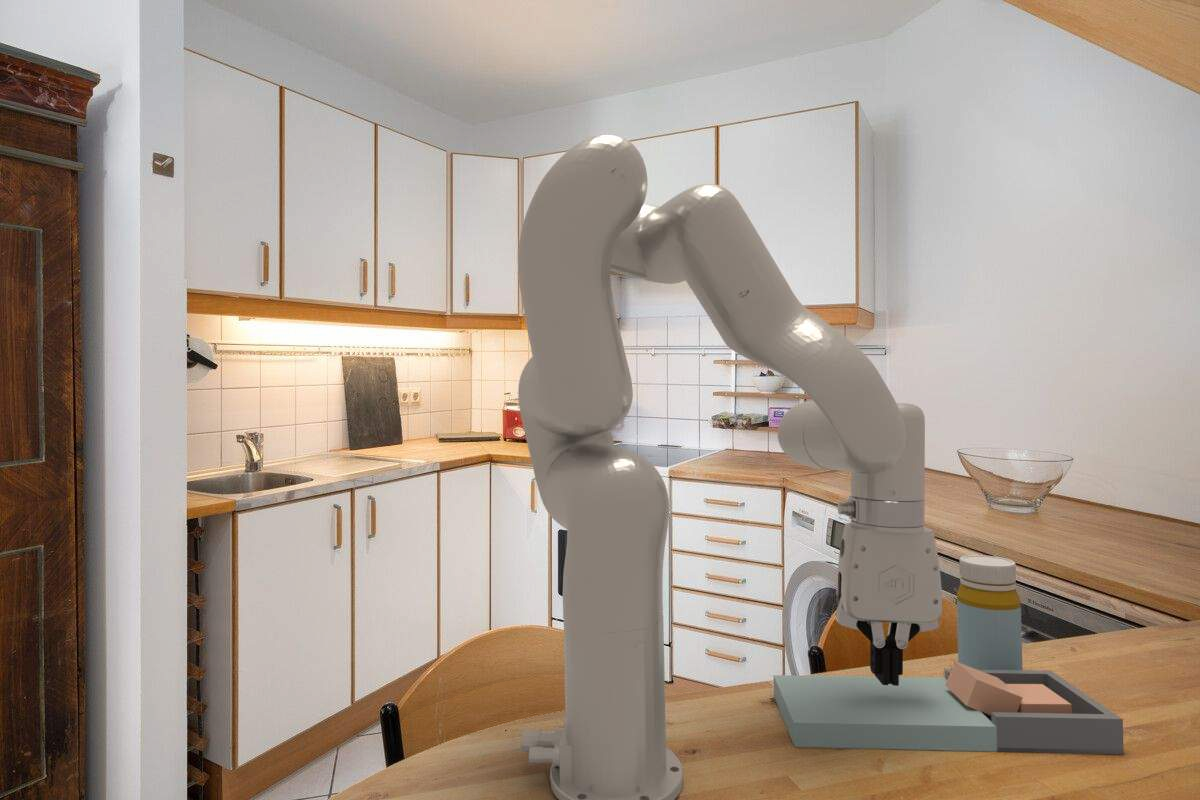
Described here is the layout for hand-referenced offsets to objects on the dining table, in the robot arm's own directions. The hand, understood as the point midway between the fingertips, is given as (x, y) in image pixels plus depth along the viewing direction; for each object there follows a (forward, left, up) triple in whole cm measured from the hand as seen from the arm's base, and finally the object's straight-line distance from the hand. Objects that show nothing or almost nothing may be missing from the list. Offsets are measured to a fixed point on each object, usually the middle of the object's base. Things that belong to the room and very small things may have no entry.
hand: (886, 680), depth 73 cm
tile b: (+15, 0, -4) cm, 16 cm away
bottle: (+17, +12, -5) cm, 21 cm away
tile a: (+10, 0, -3) cm, 10 cm away
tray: (+15, 0, -5) cm, 16 cm away
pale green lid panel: (-1, 0, -5) cm, 5 cm away
